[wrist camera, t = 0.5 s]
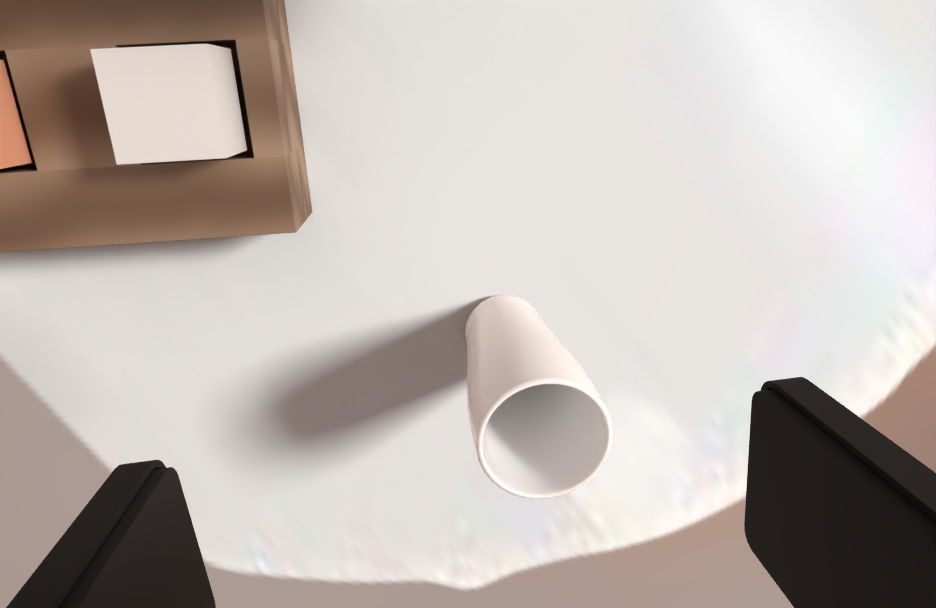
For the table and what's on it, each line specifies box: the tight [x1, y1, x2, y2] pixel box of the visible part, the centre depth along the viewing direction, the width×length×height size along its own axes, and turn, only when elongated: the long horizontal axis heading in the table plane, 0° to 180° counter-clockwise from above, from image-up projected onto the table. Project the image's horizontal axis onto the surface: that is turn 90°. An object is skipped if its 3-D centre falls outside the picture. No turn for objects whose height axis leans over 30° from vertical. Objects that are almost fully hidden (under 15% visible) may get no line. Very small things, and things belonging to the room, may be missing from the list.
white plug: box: [90, 44, 247, 165], centre depth 30 cm, size 5×5×4 cm
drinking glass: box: [465, 295, 612, 499], centre depth 37 cm, size 7×7×15 cm
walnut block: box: [0, 0, 312, 252], centre depth 34 cm, size 14×20×6 cm
